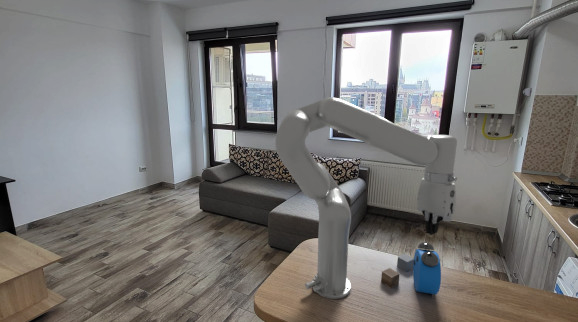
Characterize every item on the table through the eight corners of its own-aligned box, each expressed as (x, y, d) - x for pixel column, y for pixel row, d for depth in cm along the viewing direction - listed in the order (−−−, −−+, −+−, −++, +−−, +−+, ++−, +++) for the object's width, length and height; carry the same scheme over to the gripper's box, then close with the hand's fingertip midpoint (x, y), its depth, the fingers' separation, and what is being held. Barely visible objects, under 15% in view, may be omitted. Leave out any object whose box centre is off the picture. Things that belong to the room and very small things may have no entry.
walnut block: (390, 288, 96) (391, 277, 95) (381, 281, 100) (381, 271, 99) (398, 284, 98) (399, 273, 97) (388, 277, 102) (389, 267, 101)
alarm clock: (438, 304, 89) (444, 260, 85) (416, 300, 90) (421, 257, 87) (430, 278, 101) (435, 239, 98) (410, 275, 103) (415, 236, 99)
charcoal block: (406, 272, 105) (407, 262, 104) (396, 266, 108) (397, 256, 107) (413, 268, 107) (414, 258, 106) (403, 263, 110) (404, 253, 109)
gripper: (470, 181, 82) (462, 239, 87) (423, 169, 95) (417, 221, 99) (456, 185, 79) (447, 246, 83) (408, 172, 91) (403, 226, 95)
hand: (431, 232), depth 91 cm, fingers closed
